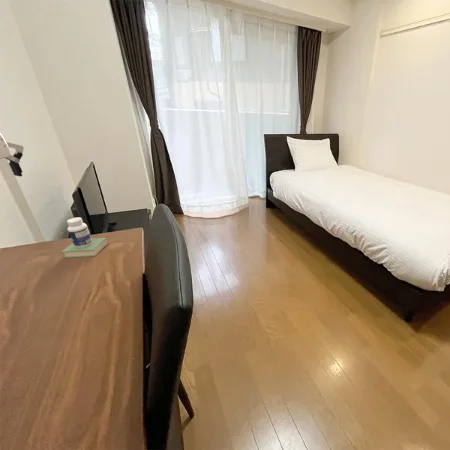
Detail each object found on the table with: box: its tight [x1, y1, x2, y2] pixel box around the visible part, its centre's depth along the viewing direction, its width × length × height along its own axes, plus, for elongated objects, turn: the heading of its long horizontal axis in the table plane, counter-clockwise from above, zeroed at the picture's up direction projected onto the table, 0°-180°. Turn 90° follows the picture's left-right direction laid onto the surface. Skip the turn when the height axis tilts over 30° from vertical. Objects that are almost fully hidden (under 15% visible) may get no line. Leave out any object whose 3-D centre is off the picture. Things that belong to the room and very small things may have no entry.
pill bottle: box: [66, 216, 93, 248], centre depth 95 cm, size 5×5×10 cm
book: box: [61, 237, 109, 259], centre depth 97 cm, size 10×9×2 cm
